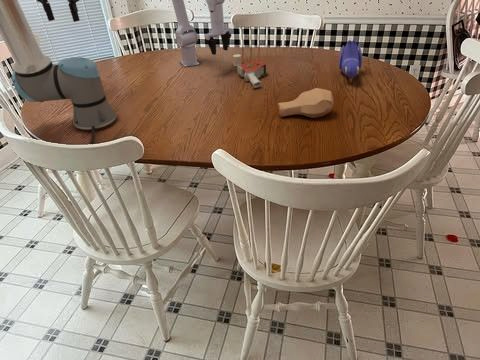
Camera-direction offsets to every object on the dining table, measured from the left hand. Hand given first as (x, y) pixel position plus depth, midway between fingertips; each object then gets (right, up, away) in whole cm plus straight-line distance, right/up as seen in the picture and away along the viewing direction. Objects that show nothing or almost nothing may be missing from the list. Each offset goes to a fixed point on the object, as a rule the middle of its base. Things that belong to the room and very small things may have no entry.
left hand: (64, 20), depth 148 cm
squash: (+97, -43, -19) cm, 108 cm away
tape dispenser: (+79, -21, +13) cm, 83 cm away
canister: (+72, -9, +30) cm, 79 cm away
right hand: (+64, -7, +16) cm, 66 cm away
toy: (+122, -21, +9) cm, 124 cm away
